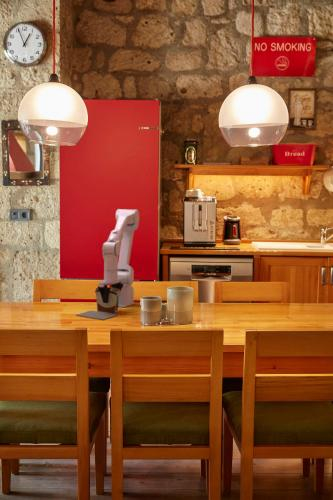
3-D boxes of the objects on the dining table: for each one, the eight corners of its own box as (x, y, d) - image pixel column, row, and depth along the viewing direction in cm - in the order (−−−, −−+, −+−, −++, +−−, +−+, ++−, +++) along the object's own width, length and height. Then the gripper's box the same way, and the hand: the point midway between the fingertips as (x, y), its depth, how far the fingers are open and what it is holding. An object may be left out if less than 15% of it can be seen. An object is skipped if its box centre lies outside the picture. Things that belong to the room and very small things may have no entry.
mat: (91, 311, 237) (91, 310, 236) (117, 315, 230) (117, 314, 230) (76, 315, 228) (76, 314, 228) (103, 320, 221) (103, 319, 221)
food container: (126, 312, 236) (126, 289, 235) (118, 314, 231) (118, 291, 230) (103, 308, 243) (103, 286, 242) (94, 311, 237) (94, 288, 236)
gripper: (108, 272, 227) (108, 305, 228) (128, 268, 239) (127, 299, 241) (94, 271, 230) (94, 303, 232) (115, 267, 243) (114, 298, 244)
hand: (110, 301), depth 236 cm, fingers open, 7 cm apart
